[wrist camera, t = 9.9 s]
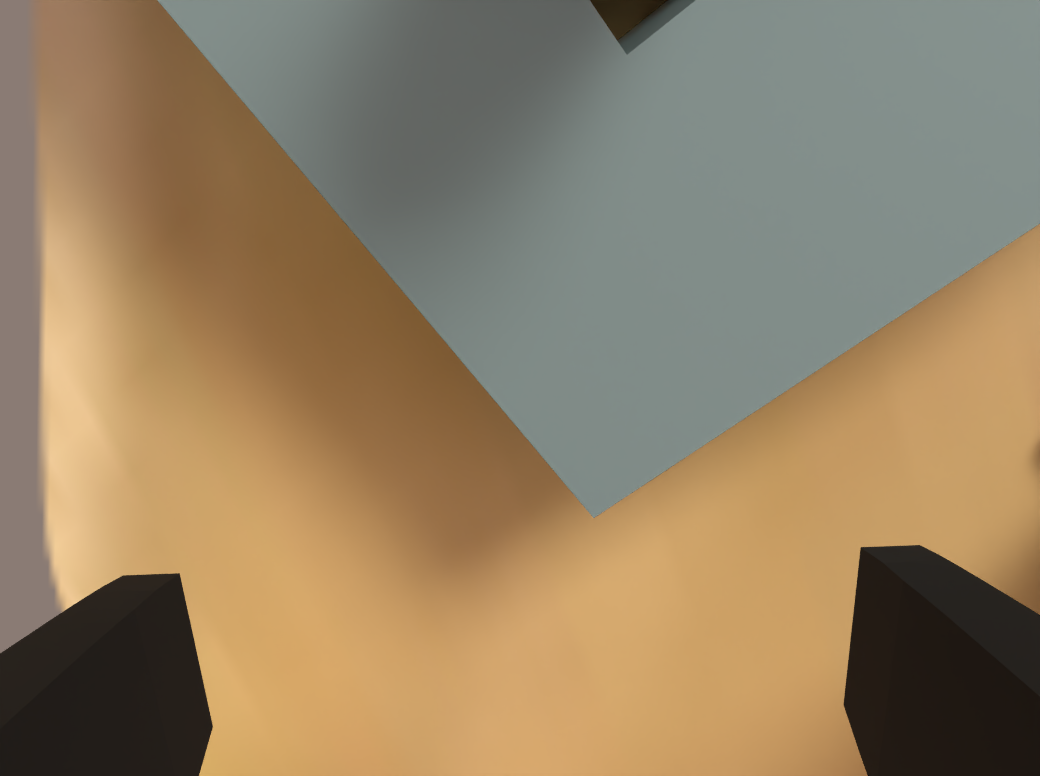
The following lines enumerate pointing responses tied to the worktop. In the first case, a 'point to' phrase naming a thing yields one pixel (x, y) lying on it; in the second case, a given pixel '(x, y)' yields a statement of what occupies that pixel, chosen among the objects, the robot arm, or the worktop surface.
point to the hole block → (649, 187)
